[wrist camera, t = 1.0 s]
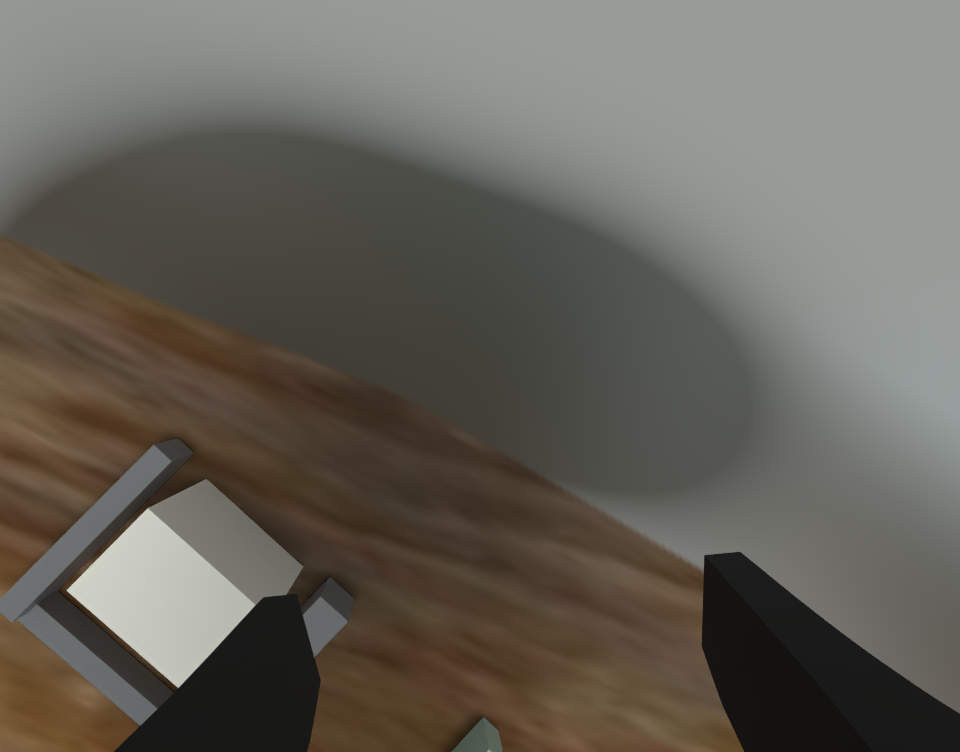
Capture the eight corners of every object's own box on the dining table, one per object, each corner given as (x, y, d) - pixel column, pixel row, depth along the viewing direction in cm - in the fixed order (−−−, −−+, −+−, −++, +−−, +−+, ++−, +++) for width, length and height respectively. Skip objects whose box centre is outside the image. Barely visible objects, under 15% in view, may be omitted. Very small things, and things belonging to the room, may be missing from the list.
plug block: (241, 630, 28) (192, 700, 22) (143, 542, 28) (66, 590, 22) (303, 566, 28) (271, 619, 22) (206, 478, 28) (147, 507, 22)
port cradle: (358, 882, 28) (352, 931, 26) (24, 592, 27) (-16, 615, 25) (498, 730, 29) (505, 764, 27) (178, 438, 28) (153, 444, 25)
